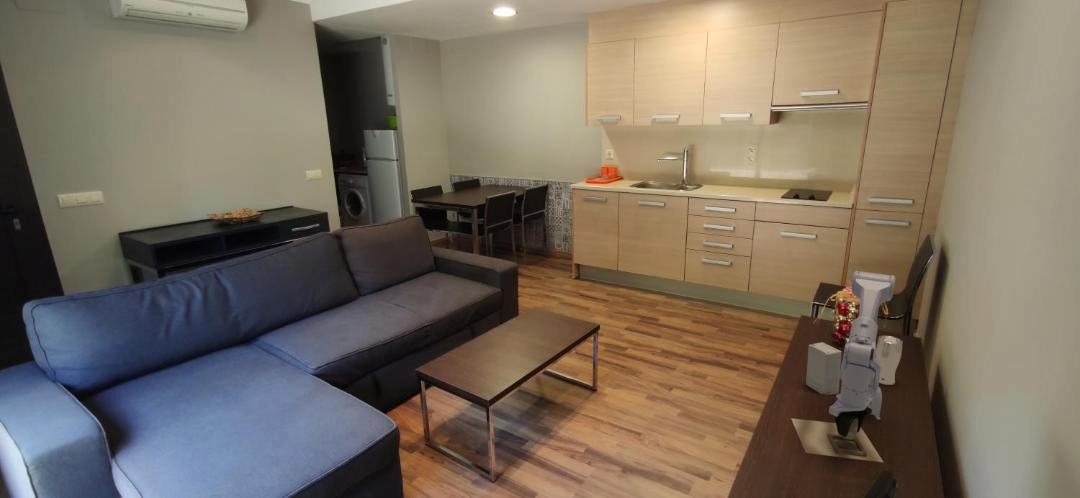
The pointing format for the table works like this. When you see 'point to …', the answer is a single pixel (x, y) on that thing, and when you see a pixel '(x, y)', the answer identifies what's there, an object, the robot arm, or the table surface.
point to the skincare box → (823, 368)
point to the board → (833, 441)
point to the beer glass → (888, 357)
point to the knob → (852, 430)
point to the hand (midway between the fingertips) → (848, 432)
